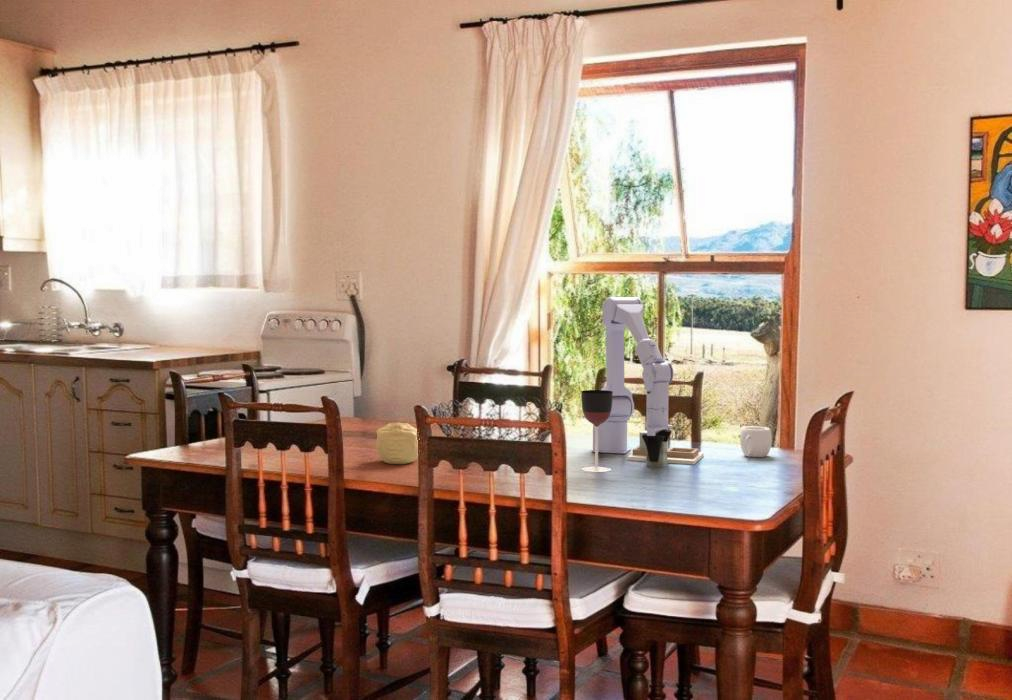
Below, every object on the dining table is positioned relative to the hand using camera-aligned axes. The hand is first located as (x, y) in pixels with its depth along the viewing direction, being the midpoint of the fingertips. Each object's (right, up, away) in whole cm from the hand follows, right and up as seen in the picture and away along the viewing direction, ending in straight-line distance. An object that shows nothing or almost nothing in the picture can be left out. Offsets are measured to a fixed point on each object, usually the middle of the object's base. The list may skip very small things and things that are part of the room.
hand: (656, 459), depth 274 cm
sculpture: (-68, -1, +4) cm, 68 cm away
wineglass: (-16, -2, -7) cm, 18 cm away
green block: (0, -2, 0) cm, 2 cm away
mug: (+28, -1, +13) cm, 31 cm away
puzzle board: (+4, -1, +10) cm, 11 cm away
